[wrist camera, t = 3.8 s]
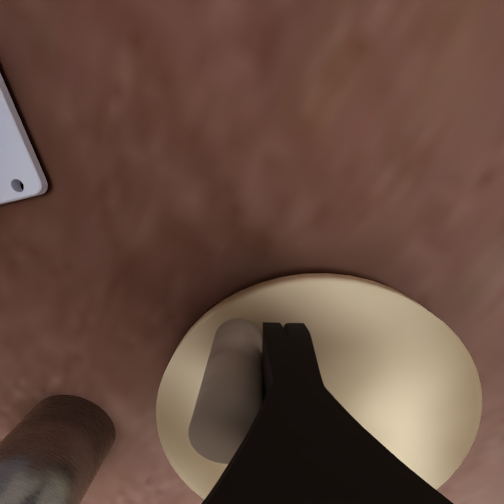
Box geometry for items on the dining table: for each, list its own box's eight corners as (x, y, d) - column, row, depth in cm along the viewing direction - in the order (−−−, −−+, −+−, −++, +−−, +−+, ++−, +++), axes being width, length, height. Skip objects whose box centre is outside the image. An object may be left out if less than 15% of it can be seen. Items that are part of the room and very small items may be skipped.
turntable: (271, 538, 15) (277, 702, 10) (102, 379, 12) (-1, 508, 7) (509, 440, 13) (665, 600, 8) (371, 202, 9) (491, 222, 5)
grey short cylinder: (53, 463, 15) (-90, 660, 9) (16, 402, 14) (-183, 583, 8) (127, 452, 15) (30, 652, 9) (96, 389, 14) (-46, 569, 7)
